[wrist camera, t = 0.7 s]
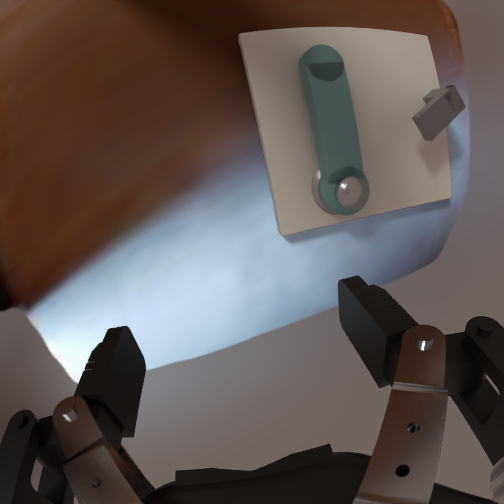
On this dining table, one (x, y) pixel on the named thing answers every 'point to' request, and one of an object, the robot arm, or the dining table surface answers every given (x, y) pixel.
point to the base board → (366, 114)
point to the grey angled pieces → (429, 124)
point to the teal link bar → (331, 122)
